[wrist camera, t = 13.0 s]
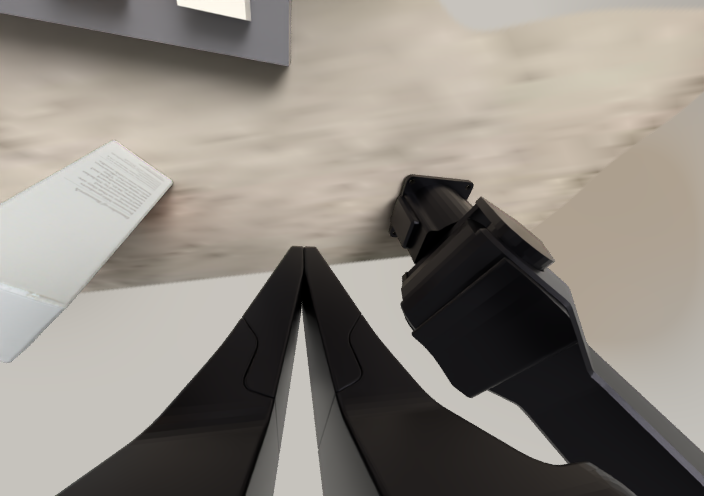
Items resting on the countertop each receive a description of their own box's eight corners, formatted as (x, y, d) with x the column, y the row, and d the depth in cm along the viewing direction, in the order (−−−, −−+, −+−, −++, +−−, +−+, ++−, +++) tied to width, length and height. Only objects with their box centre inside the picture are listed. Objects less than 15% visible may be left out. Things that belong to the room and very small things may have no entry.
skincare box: (135, 224, 21) (8, 367, 12) (72, 189, 19) (-147, 336, 10) (178, 181, 19) (67, 311, 10) (114, 135, 17) (-106, 254, 8)
